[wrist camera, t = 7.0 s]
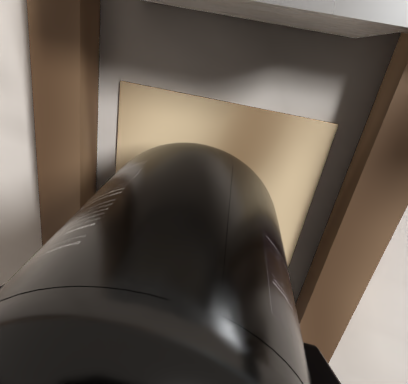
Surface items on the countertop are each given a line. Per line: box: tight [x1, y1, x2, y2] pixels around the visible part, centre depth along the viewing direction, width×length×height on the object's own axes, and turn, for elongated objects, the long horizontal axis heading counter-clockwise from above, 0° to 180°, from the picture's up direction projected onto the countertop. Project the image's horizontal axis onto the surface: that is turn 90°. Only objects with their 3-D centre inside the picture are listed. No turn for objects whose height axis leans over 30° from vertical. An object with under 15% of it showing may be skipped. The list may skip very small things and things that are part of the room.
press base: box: [27, 0, 408, 363], centre depth 11 cm, size 22×20×5 cm
